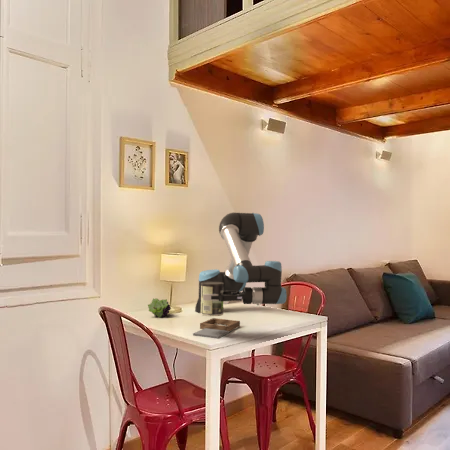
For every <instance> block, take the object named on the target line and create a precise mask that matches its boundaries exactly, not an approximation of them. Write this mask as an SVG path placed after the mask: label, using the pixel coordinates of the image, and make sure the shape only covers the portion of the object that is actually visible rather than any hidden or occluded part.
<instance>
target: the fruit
mask: <svg viewBox="0 0 450 450" xmlns="http://www.w3.org/2000/svg"><path fill="white" fill-rule="evenodd" d="M147 306H148V307H147V308H148V312H151V314H153V315H154V316H155V317H158V319H159V318H163V317H164V316H167V315H168V314H169V313H170V311H171V309H172V308H171V306H170V304H169V301H168V299H159V298H152V300H151V302H150V304H147Z"/></svg>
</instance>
